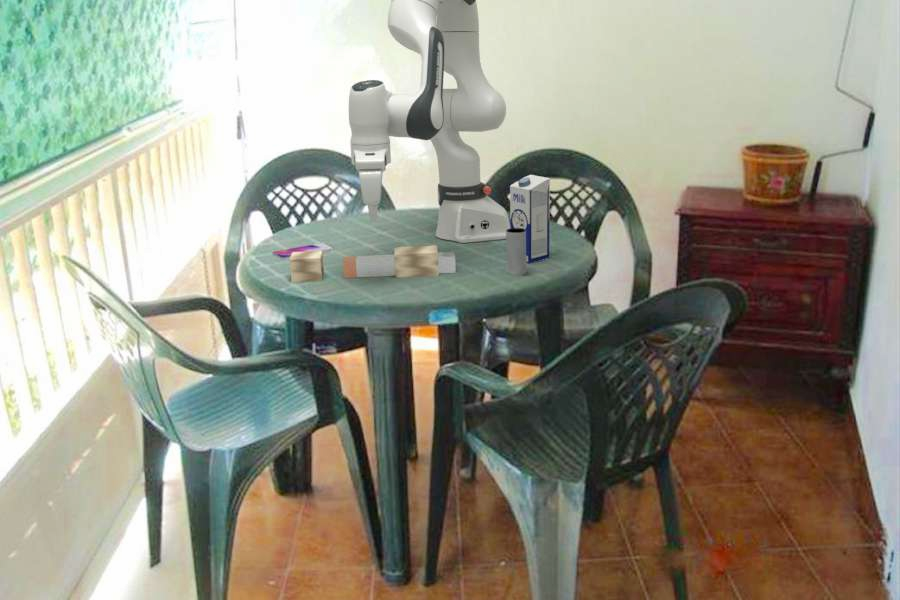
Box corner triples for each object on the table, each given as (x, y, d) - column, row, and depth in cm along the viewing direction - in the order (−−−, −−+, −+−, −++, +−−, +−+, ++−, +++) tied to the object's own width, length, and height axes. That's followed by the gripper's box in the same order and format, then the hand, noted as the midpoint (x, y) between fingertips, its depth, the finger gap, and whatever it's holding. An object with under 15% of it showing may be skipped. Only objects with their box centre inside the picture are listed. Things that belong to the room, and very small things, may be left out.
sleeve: (437, 268, 201) (436, 245, 199) (438, 275, 195) (437, 252, 193) (395, 270, 201) (394, 247, 199) (395, 277, 195) (394, 254, 193)
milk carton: (549, 258, 206) (550, 177, 200) (529, 263, 202) (529, 181, 196) (530, 252, 211) (530, 173, 205) (510, 257, 208) (509, 177, 201)
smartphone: (335, 248, 220) (281, 258, 212) (335, 251, 220) (282, 261, 213) (324, 242, 226) (271, 251, 218) (324, 245, 226) (271, 254, 218)
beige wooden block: (324, 273, 200) (322, 250, 198) (322, 281, 194) (320, 258, 192) (294, 274, 200) (292, 252, 198) (291, 283, 193) (289, 259, 192)
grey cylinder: (520, 277, 192) (520, 233, 189) (503, 274, 195) (502, 231, 191) (529, 271, 196) (529, 228, 193) (512, 269, 198) (511, 226, 195)
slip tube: (454, 267, 200) (454, 251, 199) (455, 272, 196) (455, 256, 195) (345, 273, 199) (343, 256, 198) (344, 278, 195) (342, 261, 194)
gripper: (358, 149, 198) (362, 207, 202) (354, 162, 179) (358, 226, 183) (385, 149, 198) (388, 206, 203) (384, 161, 179) (387, 225, 183)
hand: (374, 216), depth 193 cm, fingers open, 8 cm apart
